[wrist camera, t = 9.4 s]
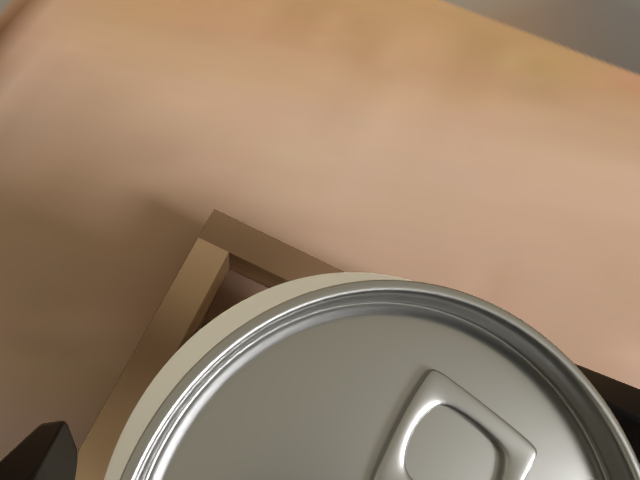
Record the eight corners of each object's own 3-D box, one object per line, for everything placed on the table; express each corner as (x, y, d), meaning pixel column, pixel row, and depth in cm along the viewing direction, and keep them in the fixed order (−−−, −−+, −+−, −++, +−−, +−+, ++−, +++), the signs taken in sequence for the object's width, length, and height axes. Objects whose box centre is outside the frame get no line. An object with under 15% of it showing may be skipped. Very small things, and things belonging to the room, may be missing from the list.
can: (136, 455, 15) (-167, 711, 4) (268, 291, 17) (335, 128, 6) (302, 589, 15) (523, 1293, 4) (415, 408, 17) (794, 482, 5)
